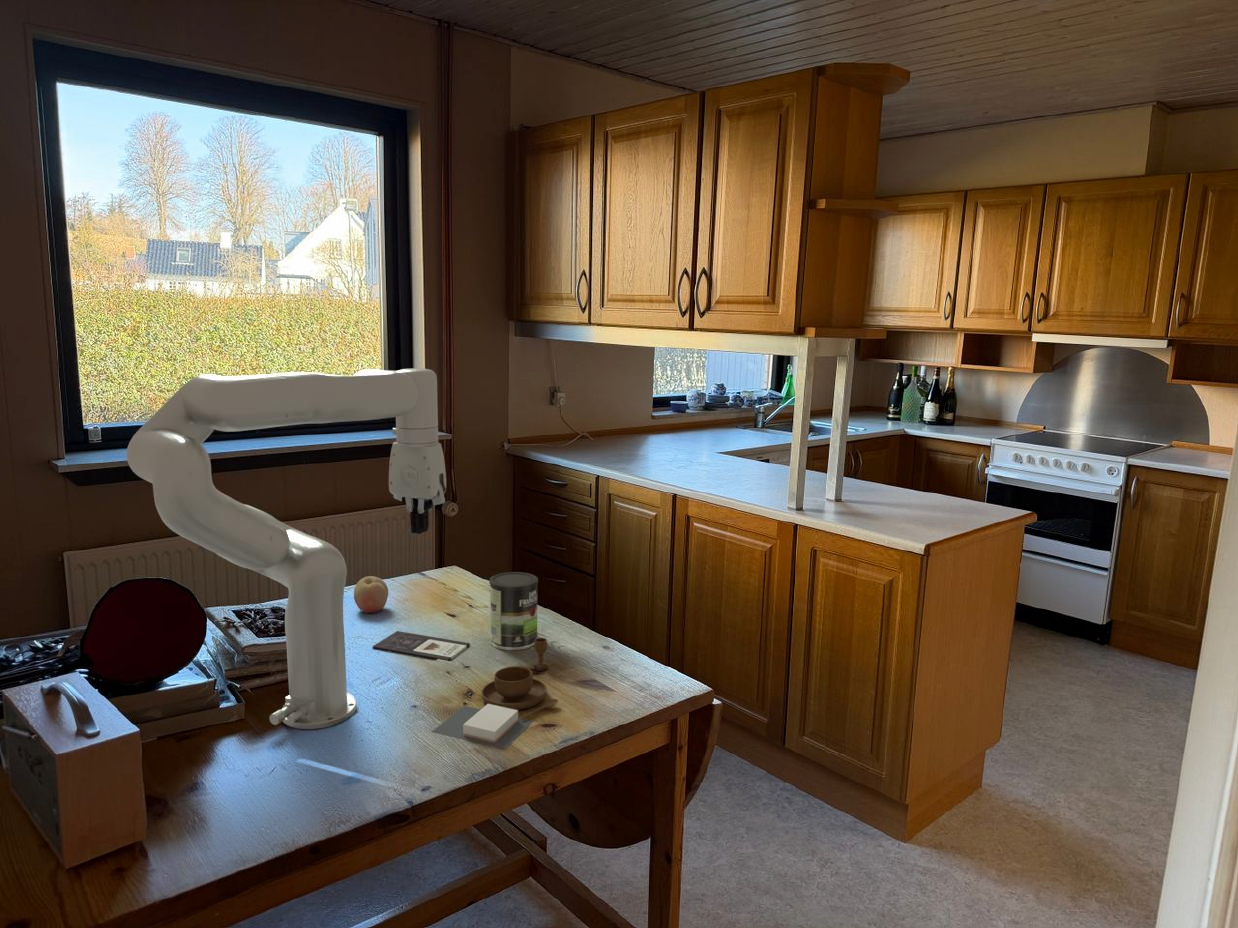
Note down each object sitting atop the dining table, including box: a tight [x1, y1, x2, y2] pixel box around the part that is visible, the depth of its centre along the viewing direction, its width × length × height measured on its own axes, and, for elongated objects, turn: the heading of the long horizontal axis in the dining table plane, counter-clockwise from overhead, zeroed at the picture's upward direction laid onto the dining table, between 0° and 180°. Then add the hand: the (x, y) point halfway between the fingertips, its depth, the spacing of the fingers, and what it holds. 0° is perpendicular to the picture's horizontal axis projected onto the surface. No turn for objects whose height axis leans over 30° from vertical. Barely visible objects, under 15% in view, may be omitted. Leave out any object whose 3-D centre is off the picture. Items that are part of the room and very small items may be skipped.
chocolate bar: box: [372, 630, 471, 662], centre depth 175 cm, size 9×1×18 cm
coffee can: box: [489, 571, 539, 651], centre depth 178 cm, size 10×10×14 cm
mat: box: [431, 705, 534, 750], centre depth 141 cm, size 10×14×1 cm
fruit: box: [353, 575, 389, 614], centre depth 194 cm, size 8×8×8 cm
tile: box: [463, 704, 519, 743], centre depth 141 cm, size 8×2×6 cm
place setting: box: [480, 637, 558, 719], centre depth 154 cm, size 18×20×6 cm
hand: (419, 531), depth 156 cm, fingers closed
